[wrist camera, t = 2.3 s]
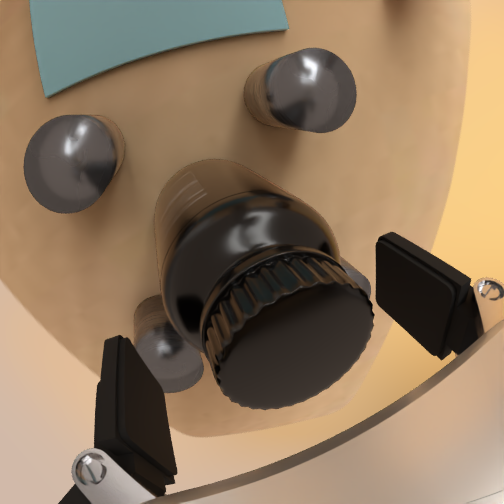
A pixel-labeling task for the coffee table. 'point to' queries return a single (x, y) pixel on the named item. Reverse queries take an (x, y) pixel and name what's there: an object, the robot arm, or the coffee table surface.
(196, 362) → the cylinder
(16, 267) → the coffee table surface
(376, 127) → the coffee table surface
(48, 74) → the teal board
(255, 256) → the supplement bottle
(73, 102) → the coffee table surface
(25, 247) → the coffee table surface
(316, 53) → the cylinder
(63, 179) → the cylinder
